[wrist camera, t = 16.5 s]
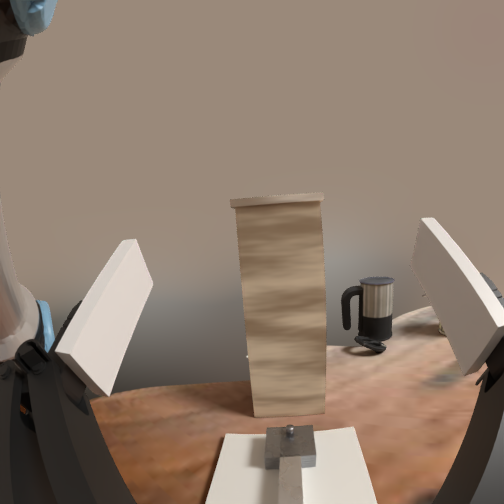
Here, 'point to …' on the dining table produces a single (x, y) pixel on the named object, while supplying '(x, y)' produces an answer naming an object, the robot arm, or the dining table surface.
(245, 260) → the beige zigzag tall box
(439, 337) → the dining table surface
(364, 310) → the milk frother
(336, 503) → the mat
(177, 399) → the dining table surface
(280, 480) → the brushed metal bar
